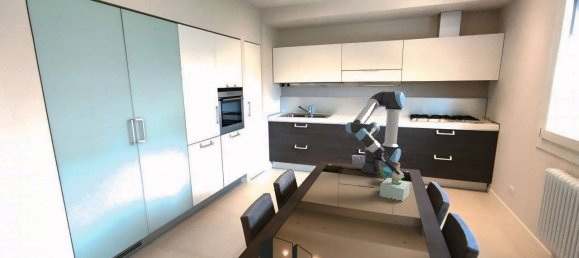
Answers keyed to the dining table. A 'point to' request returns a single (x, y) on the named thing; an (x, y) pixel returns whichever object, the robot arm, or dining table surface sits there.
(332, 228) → the dining table surface
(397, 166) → the wooden peg
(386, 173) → the snack cup
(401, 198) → the block
